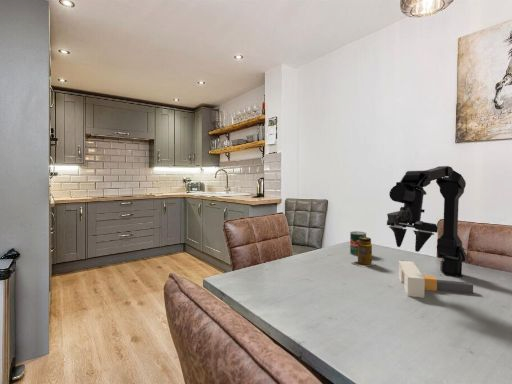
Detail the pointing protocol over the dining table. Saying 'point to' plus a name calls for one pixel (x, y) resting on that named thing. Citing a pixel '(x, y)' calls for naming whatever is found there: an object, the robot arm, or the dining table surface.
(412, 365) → the dining table surface
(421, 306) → the dining table surface
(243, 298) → the dining table surface
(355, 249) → the canned tomato
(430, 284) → the orange grey square bar
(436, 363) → the dining table surface
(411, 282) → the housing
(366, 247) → the condiment
